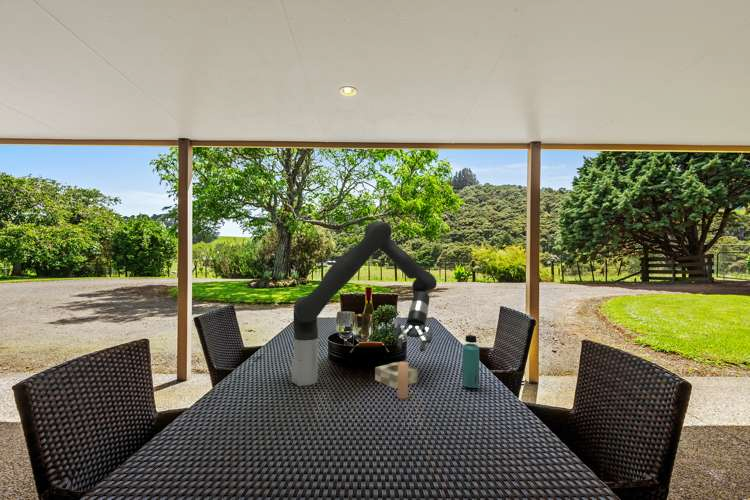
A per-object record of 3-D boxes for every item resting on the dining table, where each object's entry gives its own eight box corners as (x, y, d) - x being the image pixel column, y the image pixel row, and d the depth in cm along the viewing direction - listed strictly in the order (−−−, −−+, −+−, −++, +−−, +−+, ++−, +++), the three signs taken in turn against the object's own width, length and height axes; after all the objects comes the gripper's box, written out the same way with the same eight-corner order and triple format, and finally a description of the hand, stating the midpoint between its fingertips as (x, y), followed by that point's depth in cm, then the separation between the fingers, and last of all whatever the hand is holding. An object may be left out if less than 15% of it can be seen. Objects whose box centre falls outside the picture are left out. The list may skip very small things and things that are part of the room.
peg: (402, 399, 129) (403, 365, 129) (395, 396, 132) (396, 362, 132) (409, 397, 131) (410, 363, 131) (402, 394, 134) (403, 360, 134)
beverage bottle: (475, 393, 136) (476, 338, 136) (458, 388, 140) (459, 335, 140) (482, 388, 141) (482, 335, 141) (465, 383, 145) (466, 332, 145)
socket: (395, 388, 139) (395, 375, 139) (375, 379, 148) (375, 367, 148) (417, 381, 146) (417, 368, 146) (397, 373, 156) (397, 361, 156)
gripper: (399, 308, 151) (390, 342, 140) (433, 310, 146) (427, 346, 136) (402, 318, 156) (394, 352, 145) (436, 321, 151) (430, 357, 141)
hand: (410, 349), depth 141 cm, fingers open, 8 cm apart
